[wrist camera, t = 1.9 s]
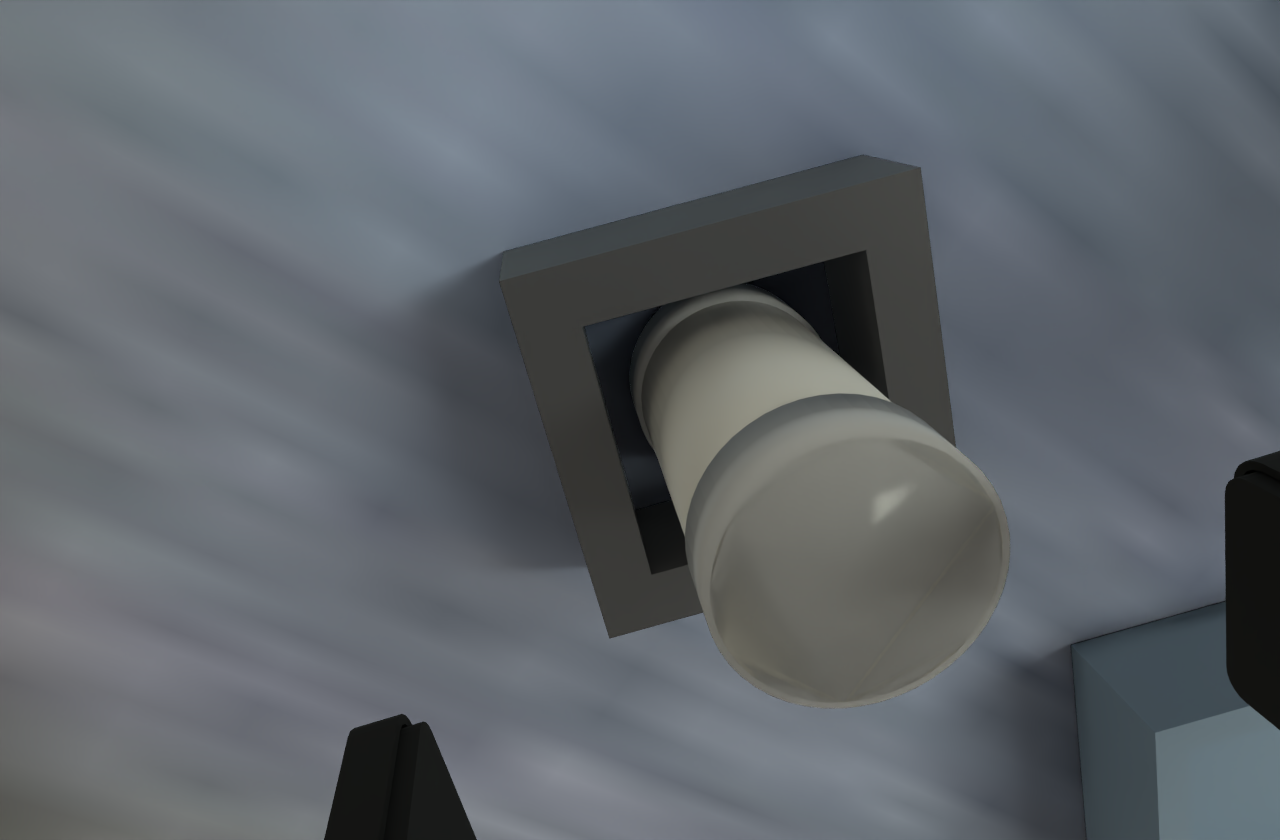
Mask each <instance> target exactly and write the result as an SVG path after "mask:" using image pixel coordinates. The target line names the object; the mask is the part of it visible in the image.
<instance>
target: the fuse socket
mask: <svg viewBox="0 0 1280 840" xmlns="http://www.w3.org/2000/svg"><path fill="white" fill-rule="evenodd" d="M823 261H824V265H825V271H826V277H827V282H828V288H829V294H830V300H831V306H832V312H833V317H834V323H835V329H836V335H837V341H838V347H839V352H840V357H841V358H842V359H843V360H844V361H845V362H847V363H848V364H849V365H850V366H851V367H852V368H853V369H855V370H856V371H857V372H858V373H859V374H860V375H861V376H863V377H864V378H865V379H866V380H867V381H868V382H869V383H871V384H872V385H873V386H874V387H875V388H876V389H877V390H879V391H880V392H881V393H882V394H883V395H884V396H885V397H887V398H888V399H889V400H890V401H891V402H892V403H895V404H897V405H899V406H901V407H903V408H905V409H907V410H909V411H911V412H912V413H914V414H915V415H916V416H918V417H919V418H921V419H922V420H924V421H925V422H926V423H927V424H928V425H930V426H931V427H932V428H933V429H934V430H935V431H937V432H938V433H939V434H940V435H941V436H942V437H944V438H945V439H946V440H947V441H948V442H949V443H951V444H952V445H953V446H954V447H955V448H956V444H955V437H954V429H953V421H952V413H951V405H950V397H949V389H948V381H947V373H946V365H945V357H944V350H943V342H942V334H941V326H940V318H939V310H938V302H937V294H936V286H935V278H934V271H933V263H932V255H931V247H930V239H929V231H928V223H927V215H926V207H925V199H924V191H923V184H922V176H921V168H920V167H916V166H912V165H907V164H903V163H898V162H894V161H889V160H885V159H880V158H876V157H871V156H867V155H860V156H857V157H853V158H849V159H845V160H842V161H838V162H834V163H831V164H827V165H823V166H819V167H816V168H812V169H808V170H805V171H801V172H797V173H793V174H790V175H786V176H782V177H779V178H775V179H771V180H767V181H764V182H760V183H756V184H753V185H749V186H745V187H741V188H738V189H734V190H730V191H727V192H723V193H719V194H715V195H712V196H708V197H704V198H701V199H697V200H693V201H689V202H686V203H682V204H678V205H675V206H671V207H667V208H663V209H660V210H656V211H652V212H649V213H645V214H641V215H637V216H634V217H630V218H626V219H623V220H619V221H615V222H611V223H608V224H604V225H600V226H597V227H593V228H589V229H585V230H582V231H578V232H574V233H571V234H567V235H563V236H559V237H556V238H552V239H548V240H545V241H541V242H537V243H533V244H530V245H526V246H522V247H519V248H515V249H511V250H508V251H504V252H503V258H502V264H501V271H500V278H499V283H500V286H501V289H502V292H503V296H504V299H505V302H506V305H507V308H508V312H509V315H510V318H511V321H512V325H513V328H514V331H515V334H516V338H517V341H518V344H519V347H520V350H521V354H522V357H523V360H524V363H525V367H526V370H527V373H528V376H529V380H530V383H531V386H532V389H533V393H534V396H535V399H536V402H537V405H538V409H539V412H540V415H541V418H542V422H543V425H544V428H545V431H546V435H547V438H548V441H549V444H550V448H551V451H552V454H553V457H554V460H555V464H556V467H557V470H558V473H559V477H560V480H561V483H562V486H563V490H564V493H565V496H566V499H567V502H568V506H569V509H570V512H571V515H572V519H573V522H574V525H575V528H576V532H577V535H578V538H579V541H580V545H581V548H582V551H583V554H584V557H585V561H586V564H587V567H588V570H589V574H590V577H591V580H592V583H593V587H594V590H595V593H596V596H597V599H598V603H599V606H600V609H601V612H602V616H603V619H604V622H605V625H606V629H607V632H608V635H609V638H613V637H617V636H620V635H624V634H627V633H631V632H635V631H638V630H642V629H645V628H649V627H653V626H656V625H660V624H663V623H667V622H670V621H674V620H678V619H681V618H685V617H688V616H692V615H696V614H699V613H703V609H702V606H701V603H700V600H699V597H698V594H697V591H696V588H695V585H694V582H693V579H692V576H691V573H690V570H689V567H688V562H687V557H686V551H685V536H684V533H683V530H682V527H681V524H680V521H679V518H678V516H677V513H676V510H675V507H674V504H673V501H672V500H671V501H667V502H664V503H660V504H656V505H653V506H649V507H646V508H642V509H638V510H635V507H634V503H633V500H632V496H631V493H630V489H629V486H628V482H627V478H626V475H625V471H624V468H623V464H622V460H621V457H620V453H619V450H618V446H617V443H616V439H615V435H614V432H613V428H612V425H611V421H610V417H609V414H608V410H607V407H606V403H605V399H604V396H603V392H602V389H601V385H600V382H599V378H598V374H597V371H596V367H595V364H594V360H593V356H592V353H591V349H590V346H589V342H588V339H587V335H586V331H585V328H584V326H587V325H591V324H595V323H598V322H602V321H606V320H609V319H613V318H617V317H620V316H624V315H628V314H631V313H635V312H639V311H643V310H646V309H650V308H654V307H657V306H661V305H665V304H668V303H672V302H676V301H679V300H683V299H687V298H690V297H694V296H698V295H701V294H705V293H709V292H713V291H716V290H720V289H724V288H727V287H731V286H735V285H738V284H742V283H746V282H749V281H753V280H757V279H760V278H764V277H768V276H771V275H775V274H779V273H782V272H786V271H790V270H794V269H797V268H801V267H805V266H808V265H812V264H816V263H819V262H823Z"/></svg>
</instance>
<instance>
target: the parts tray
mask: <svg viewBox="0 0 1280 840" xmlns="http://www.w3.org/2000/svg"><path fill="white" fill-rule="evenodd" d="M1071 652H1072V664H1073V677H1074V689H1075V701H1076V713H1077V725H1078V738H1079V750H1080V762H1081V774H1082V786H1083V799H1084V811H1085V823H1086V835H1087V840H1280V730H1279V729H1278V728H1276V727H1275V726H1274V725H1273V724H1271V723H1270V722H1269V721H1268V720H1267V719H1265V718H1264V717H1263V716H1262V715H1260V714H1259V713H1258V712H1257V711H1255V710H1254V709H1253V708H1252V707H1251V706H1249V705H1248V704H1247V703H1246V702H1245V701H1244V700H1243V699H1242V698H1241V697H1240V696H1239V695H1238V694H1237V692H1236V691H1235V690H1234V688H1233V686H1232V684H1231V682H1230V680H1229V677H1228V674H1227V668H1226V602H1222V603H1219V604H1215V605H1212V606H1208V607H1204V608H1201V609H1197V610H1194V611H1190V612H1187V613H1183V614H1180V615H1176V616H1172V617H1169V618H1165V619H1162V620H1158V621H1155V622H1151V623H1148V624H1144V625H1141V626H1137V627H1133V628H1130V629H1126V630H1123V631H1119V632H1116V633H1112V634H1109V635H1105V636H1102V637H1098V638H1094V639H1091V640H1087V641H1084V642H1080V643H1077V644H1073V645H1071Z"/></svg>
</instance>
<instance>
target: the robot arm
mask: <svg viewBox="0 0 1280 840" xmlns="http://www.w3.org/2000/svg"><path fill="white" fill-rule="evenodd" d="M1225 560H1226V668H1227V674H1228V677H1229V680H1230V682H1231V684H1232V686H1233V688H1234V690H1235V691H1236V692H1237V694H1238V695H1239V696H1240V697H1241V698H1242V699H1243V700H1244V701H1245V702H1246V703H1247V704H1248V705H1249V706H1251V707H1252V708H1253V709H1254V710H1255V711H1257V712H1258V713H1259V714H1260V715H1262V716H1263V717H1264V718H1265V719H1267V720H1268V721H1269V722H1270V723H1271V724H1273V725H1274V726H1275V727H1276V728H1278V729H1279V730H1280V451H1278V452H1275V453H1272V454H1268V455H1265V456H1262V457H1258V458H1255V459H1252V460H1248V461H1245V462H1243V463H1242V464H1240V465H1239V466H1238V468H1237V469H1236V471H1235V474H1234V478H1233V479H1232V480H1230V481H1229V482H1228V484H1227V486H1226V490H1225ZM324 840H477V839H476V837H475V834H474V832H473V830H472V827H471V825H470V822H469V820H468V817H467V815H466V813H465V810H464V808H463V805H462V803H461V801H460V798H459V796H458V793H457V791H456V789H455V786H454V784H453V781H452V779H451V777H450V774H449V772H448V769H447V767H446V764H445V762H444V760H443V757H442V755H441V752H440V750H439V748H438V745H437V743H436V740H435V738H434V736H433V733H432V731H431V729H430V727H429V725H428V724H427V723H426V722H421V723H417V724H414V725H412V724H411V722H410V720H409V719H408V718H407V716H406V715H403V714H400V715H397V716H393V717H390V718H387V719H383V720H380V721H377V722H373V723H370V724H367V725H363V726H360V727H357V728H354V729H353V730H351V731H350V734H349V736H348V739H347V744H346V748H345V752H344V756H343V761H342V765H341V769H340V774H339V778H338V782H337V787H336V791H335V795H334V800H333V804H332V808H331V812H330V817H329V821H328V825H327V830H326V834H325V838H324Z"/></svg>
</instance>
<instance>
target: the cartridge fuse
mask: <svg viewBox="0 0 1280 840" xmlns="http://www.w3.org/2000/svg"><path fill="white" fill-rule="evenodd" d="M629 379H630V390H631V396H632V400H633V403H634V406H635V409H636V412H637V415H638V418H639V421H640V424H641V427H642V430H643V432H644V434H645V436H646V438H647V440H648V442H649V444H650V445H651V447H652V448H653V449H654V451H655V453H656V455H657V458H658V461H659V464H660V467H661V470H662V473H663V475H664V478H665V481H666V484H667V487H668V490H669V493H670V496H671V498H672V501H673V504H674V507H675V510H676V513H677V516H678V518H679V521H680V524H681V527H682V530H683V533H684V536H685V551H686V557H687V562H688V567H689V570H690V573H691V576H692V579H693V582H694V585H695V588H696V591H697V594H698V597H699V600H700V603H701V606H702V609H703V612H704V615H705V618H706V621H707V624H708V627H709V630H710V633H711V636H712V638H713V640H714V642H715V643H716V645H717V647H718V649H719V651H720V653H721V654H722V655H723V657H724V658H725V659H726V661H727V662H728V663H729V665H730V666H731V667H732V668H733V669H734V670H735V671H736V672H737V673H738V674H739V675H740V676H741V677H742V678H744V679H745V680H747V681H748V682H749V683H751V684H752V685H753V686H755V687H756V688H758V689H760V690H762V691H764V692H765V693H767V694H769V695H771V696H773V697H776V698H779V699H781V700H784V701H787V702H790V703H794V704H798V705H803V706H808V707H817V708H849V707H858V706H864V705H869V704H873V703H878V702H882V701H885V700H888V699H890V698H893V697H896V696H899V695H901V694H904V693H906V692H908V691H910V690H912V689H915V688H917V687H918V686H920V685H922V684H924V683H925V682H927V681H929V680H930V679H932V678H934V677H935V676H936V675H938V674H939V673H941V672H942V671H943V670H945V669H946V668H947V667H949V666H950V665H951V664H952V663H953V662H954V661H955V660H957V659H958V658H959V657H960V656H961V655H962V654H963V653H964V652H965V651H966V650H967V649H968V648H969V646H970V645H971V644H972V643H973V642H974V641H975V640H976V638H977V637H978V636H979V634H980V633H981V631H982V630H983V629H984V627H985V626H986V624H987V623H988V621H989V619H990V618H991V616H992V614H993V612H994V610H995V608H996V606H997V604H998V602H999V599H1000V597H1001V594H1002V591H1003V589H1004V585H1005V581H1006V577H1007V573H1008V568H1009V559H1010V534H1009V529H1008V523H1007V518H1006V515H1005V512H1004V509H1003V506H1002V503H1001V500H1000V499H999V497H998V495H997V493H996V491H995V489H994V487H993V486H992V484H991V483H990V482H989V480H988V479H987V478H986V476H985V475H984V474H983V472H982V471H981V470H980V469H979V468H978V467H977V466H976V465H975V464H974V463H972V462H971V461H970V460H969V459H968V458H967V457H966V456H965V455H964V454H962V453H961V452H960V451H959V450H958V449H957V448H955V447H954V446H953V445H952V444H951V443H949V442H948V441H947V440H946V439H945V438H944V437H942V436H941V435H940V434H939V433H938V432H937V431H935V430H934V429H933V428H932V427H931V426H930V425H928V424H927V423H926V422H925V421H924V420H922V419H921V418H919V417H918V416H916V415H915V414H914V413H912V412H911V411H909V410H907V409H905V408H903V407H901V406H899V405H897V404H895V403H892V402H891V401H890V400H889V399H888V398H887V397H885V396H884V395H883V394H882V393H881V392H880V391H879V390H877V389H876V388H875V387H874V386H873V385H872V384H871V383H869V382H868V381H867V380H866V379H865V378H864V377H863V376H861V375H860V374H859V373H858V372H857V371H856V370H855V369H853V368H852V367H851V366H850V365H849V364H848V363H847V362H845V361H844V360H843V359H842V358H841V357H840V356H839V355H837V354H836V353H835V352H834V351H833V350H832V349H831V348H829V347H828V346H827V345H826V344H825V343H824V342H823V341H821V339H820V337H819V335H818V334H817V333H816V331H815V330H814V329H813V328H812V326H811V325H810V324H809V323H808V322H807V321H806V320H805V319H804V318H803V317H802V316H800V315H799V314H798V313H797V312H796V311H795V310H793V309H792V308H791V307H790V306H789V305H787V304H786V303H785V302H784V301H783V300H781V299H780V298H778V297H777V296H776V295H774V294H772V293H770V292H768V291H767V290H765V289H762V288H760V287H757V286H754V285H750V284H745V283H742V284H738V285H735V286H731V287H727V288H724V289H720V290H716V291H713V292H709V293H705V294H701V295H698V296H694V297H690V298H687V299H683V300H679V301H676V302H672V303H668V304H665V305H664V306H663V307H661V308H660V309H659V310H658V311H657V312H656V313H655V314H654V316H653V317H652V318H651V319H650V320H649V322H648V323H647V324H646V326H645V327H644V329H643V330H642V332H641V334H640V336H639V338H638V340H637V342H636V345H635V348H634V351H633V354H632V359H631V363H630V374H629Z"/></svg>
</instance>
